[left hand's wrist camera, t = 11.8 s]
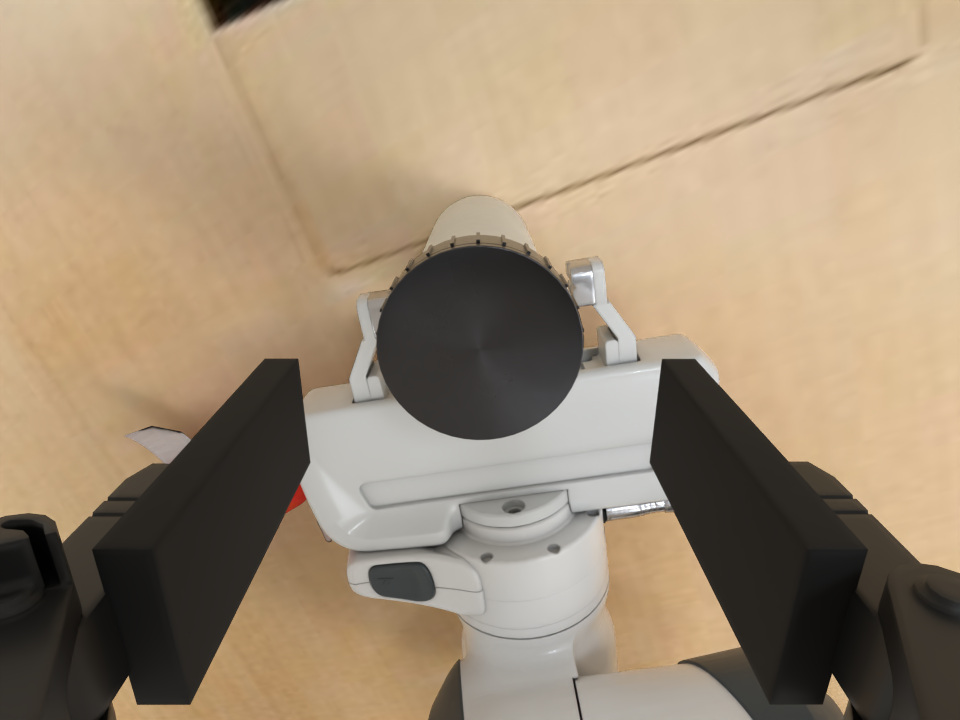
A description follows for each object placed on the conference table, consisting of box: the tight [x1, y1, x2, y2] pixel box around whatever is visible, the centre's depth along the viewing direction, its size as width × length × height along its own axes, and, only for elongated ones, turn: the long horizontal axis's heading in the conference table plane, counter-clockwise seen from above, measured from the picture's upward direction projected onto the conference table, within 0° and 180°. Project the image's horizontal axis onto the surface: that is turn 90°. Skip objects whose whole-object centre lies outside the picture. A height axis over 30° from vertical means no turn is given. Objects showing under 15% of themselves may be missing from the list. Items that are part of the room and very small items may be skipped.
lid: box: [376, 232, 584, 440], centre depth 19 cm, size 6×6×2 cm
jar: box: [423, 195, 537, 253], centre depth 26 cm, size 5×5×16 cm
